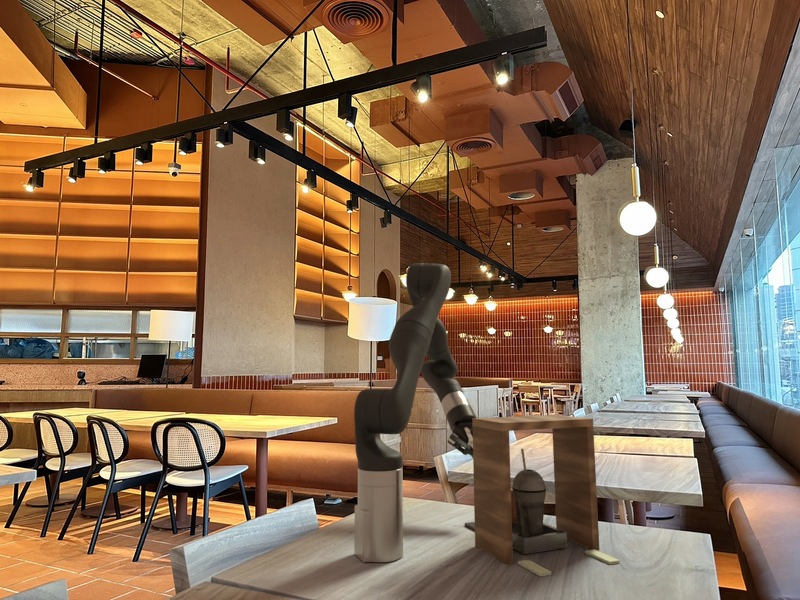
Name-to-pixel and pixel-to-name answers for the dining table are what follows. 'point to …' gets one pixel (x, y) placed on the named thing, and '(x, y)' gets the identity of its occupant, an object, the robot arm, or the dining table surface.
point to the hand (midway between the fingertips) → (483, 465)
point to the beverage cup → (529, 501)
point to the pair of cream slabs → (543, 572)
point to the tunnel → (569, 476)
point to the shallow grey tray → (536, 536)
